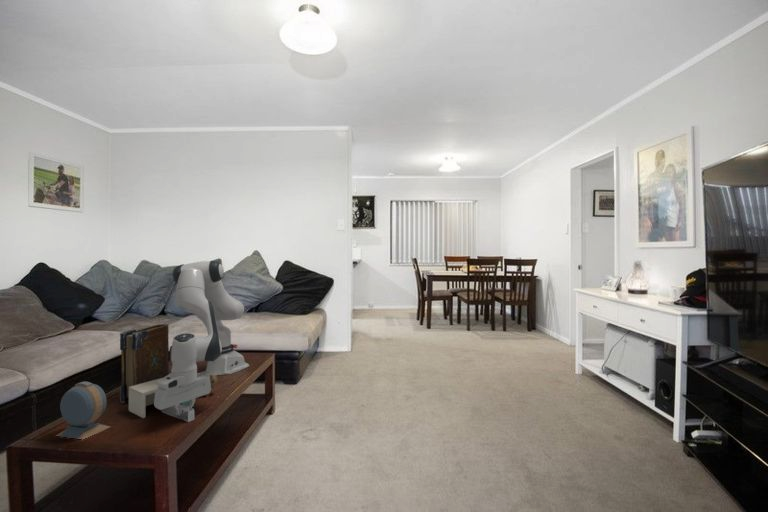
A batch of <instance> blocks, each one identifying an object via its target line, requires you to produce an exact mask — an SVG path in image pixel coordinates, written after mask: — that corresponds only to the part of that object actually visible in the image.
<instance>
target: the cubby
mask: <svg viewBox="0 0 768 512" xmlns="http://www.w3.org/2000/svg"><path fill="white" fill-rule="evenodd" d="M160 379H162V378H160ZM160 379H156V380H153V381H149V382H145V383H142V384H138V385H134V386H131V387H129V401H128V412H130V413H133V414H134V415H137V416H138V417H140V418H142V419H144V418H146V407H148V406H151V405H154V398H155V392H156V390H157V388H158V386H157V381H158V380H160Z"/></svg>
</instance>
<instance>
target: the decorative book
mask: <svg viewBox="0 0 768 512" xmlns="http://www.w3.org/2000/svg"><path fill="white" fill-rule="evenodd" d="M169 344H170V343H169V324H166V323H165V324H164V323H163V324H162V323H161V324H155V325H151V326H148V327H147V326H146V327H143V328H140V329H131V330H127V331H126V330H125V331H122V332H120V333H119V350H120V351H121V353H120V355H121V357H120V358H121V385H120V386H119V389H120V390H119V391H120V393H119V395H120V397H119V399H120V402H119V403H120V404H124V403H127V402H129V387H131V386H134V385H138V384H142V383H145V382H149V381H153V380H156V379H160V378H164V377H165V376H167V375H169V374H170V373H169V372H170V370H169V368H170V367H169V363H170V362H169V361H170V348H169Z"/></svg>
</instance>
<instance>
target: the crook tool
mask: <svg viewBox="0 0 768 512" xmlns="http://www.w3.org/2000/svg"><path fill="white" fill-rule="evenodd" d="M178 408H179V409H182V414H180V415H176V410H175V409H174V407H173V406H171V407H168V408H165V409H162V410H160V411H161V413H163V414H165V415H167V416H171V417H174V418H176V419H178V420H182V421H183V422H186V423H190V422H192V421H194V420H195V408H189V407H187V406H184V405H181V404H179V407H178Z"/></svg>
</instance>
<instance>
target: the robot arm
mask: <svg viewBox="0 0 768 512" xmlns="http://www.w3.org/2000/svg"><path fill="white" fill-rule="evenodd" d="M224 271H225V270H224V267H223V264H222V263H221V262H220V261H218V260H210V261H208V260H205V261H204V260H203V261H202V260H201V261H196V262H190V263H186V264H183V263H182V264H178V265H177V266H175V268H174V269H173V270H172V279H173V282H174V284H175V285H176V291H175V301H176V304H177V306H178V307H179V308H180V309H182V310H183V311H185V312H186V313H190V314H194V315H195V316H196V318H198V319H199V320H200V321H201V322H202V323H203V325H204V326H205V328H206V331H207V336H205V337H196V336H195V334H193V333H189V332H188V333H180V334H177V335H175V336H174V338H172V343H171V346H170V348H169V361H171V365H172V366H171V369H170V373H169V375H167V376H165V377H164V378H162V379H160V380H158V381H157V386H158V388H157V390H156V392H155V398H154V404H153V406H154V407H155V408H156V409H157V410H160V411H161V410H162V409H165V408H168V407H171V406H173V407H174V409H175V410H176V415H180V414H182V409H179V408H178V407H179V404H180V403H183V402H186V401H190V403H189V405H188V406H187V407H189V408H192V407H193V404H195V403H196V399H197V398H199V397H203V396H206V394H209V395H210V394H211V391H212V389H211V384H210V376H211V375H216V376H223V375H231V374H235V373H237V372H239V371H242V370H244V369H247V368H249V367H250V364H249V363H247V362H246V361H245V358H244V356H243V354H241V353H239V352H238V351H236V350H235V349H238V344H232V332H231V329H230V328H229V327H228V326H226V325H224V324H223V322H222V321H234V320H238V319H239V320H240V319H241V318H242V317H243V316H244V313H245V307H244V304H243V303H242V302H241V300H240V301H239V300H238V299H236V298H234V297H233V296H232V295H230V294H229V292H228V291H226V289H225V287H224V285H223V281H222V279H223V278H224V273H225V272H224ZM197 362H207V363H206V369H205V370H203V371H200V372H198V366H197ZM192 409H193V408H192Z"/></svg>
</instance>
